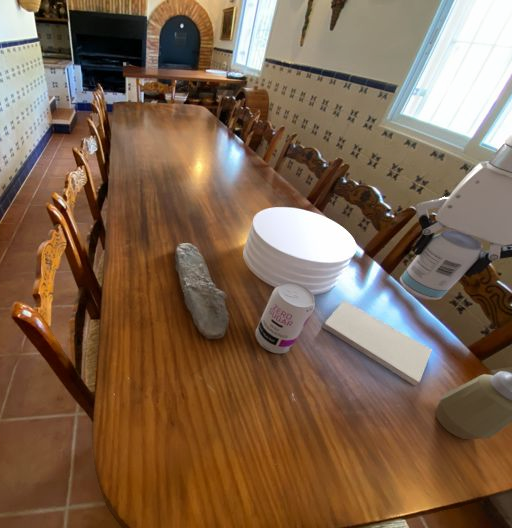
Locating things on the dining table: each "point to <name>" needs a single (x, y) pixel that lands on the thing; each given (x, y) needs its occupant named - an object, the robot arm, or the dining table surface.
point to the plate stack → (298, 248)
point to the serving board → (379, 341)
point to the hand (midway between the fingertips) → (442, 261)
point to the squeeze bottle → (478, 407)
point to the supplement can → (284, 317)
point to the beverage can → (441, 264)
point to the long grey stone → (201, 293)
